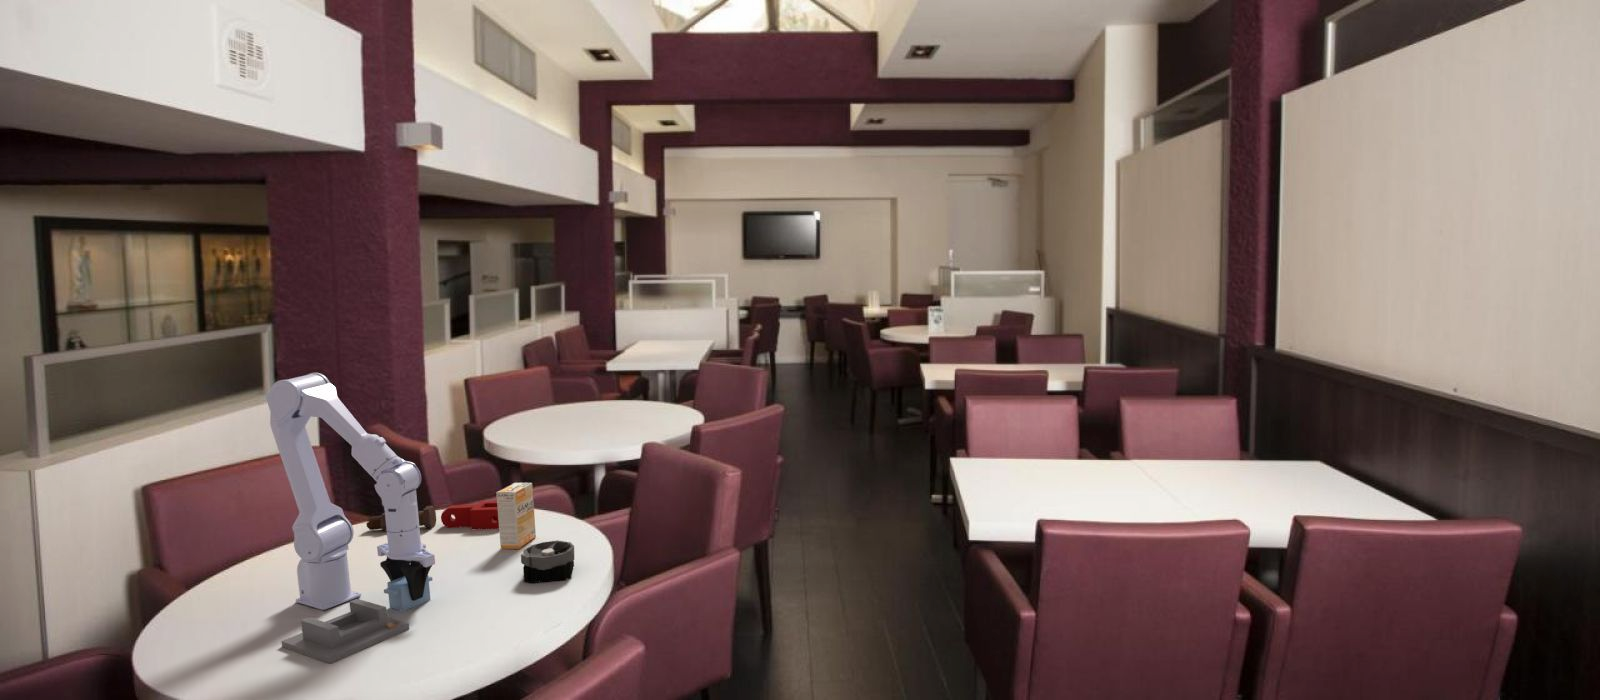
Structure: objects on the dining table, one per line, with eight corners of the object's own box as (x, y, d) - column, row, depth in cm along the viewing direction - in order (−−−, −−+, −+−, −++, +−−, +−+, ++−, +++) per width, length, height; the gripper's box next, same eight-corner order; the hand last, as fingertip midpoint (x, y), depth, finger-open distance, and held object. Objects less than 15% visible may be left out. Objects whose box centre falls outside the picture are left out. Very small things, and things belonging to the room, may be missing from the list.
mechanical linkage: (514, 519, 229) (512, 500, 228) (505, 529, 222) (503, 508, 221) (449, 522, 229) (447, 502, 228) (438, 532, 222) (436, 511, 221)
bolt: (371, 537, 225) (435, 531, 226) (363, 533, 220) (429, 527, 221) (373, 513, 227) (436, 507, 228) (365, 509, 222) (430, 503, 224)
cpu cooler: (575, 537, 196) (571, 554, 186) (577, 563, 197) (573, 581, 187) (525, 542, 194) (518, 558, 184) (527, 568, 195) (520, 586, 185)
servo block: (384, 610, 175) (381, 581, 175) (422, 594, 182) (419, 566, 182) (397, 614, 173) (394, 585, 173) (435, 597, 180) (433, 570, 180)
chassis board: (281, 646, 161) (279, 622, 160) (361, 614, 174) (359, 591, 173) (329, 663, 154) (327, 638, 153) (409, 628, 166) (407, 605, 166)
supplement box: (519, 549, 206) (515, 492, 205) (499, 549, 207) (495, 491, 206) (537, 537, 214) (533, 482, 213) (518, 536, 215) (513, 481, 214)
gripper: (446, 526, 176) (452, 595, 177) (397, 516, 183) (404, 583, 185) (413, 538, 170) (420, 609, 171) (364, 527, 177) (371, 595, 179)
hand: (409, 596), depth 178 cm, fingers closed on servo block, 4 cm apart
